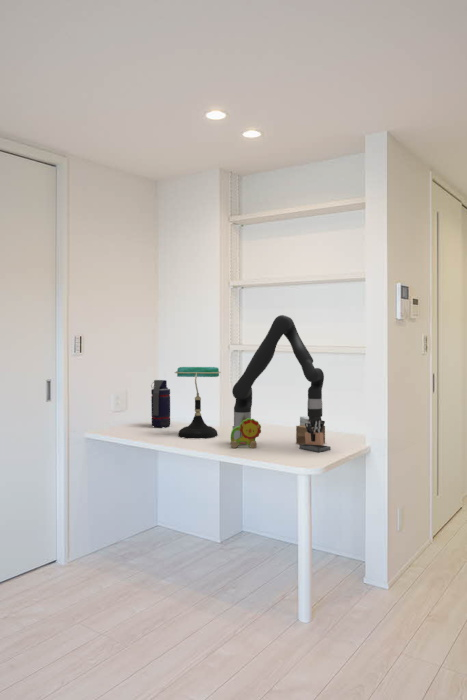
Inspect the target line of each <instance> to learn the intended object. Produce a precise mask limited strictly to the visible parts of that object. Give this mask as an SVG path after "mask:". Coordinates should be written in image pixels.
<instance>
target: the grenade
mask: <svg viewBox="0 0 467 700" xmlns="http://www.w3.org/2000/svg"><path fill="white" fill-rule="evenodd" d="M153 384H154V385H153ZM150 386H151V391H150V392H151V393H150V394H151V396H150V398H151V399H150V401H151V426H154V427H161V428H162V427H165V428H166V427H170V426H171V389H170V388H169V387H168V385H167V380H166V379H154V380H153V381H152V383H151V385H150Z"/></svg>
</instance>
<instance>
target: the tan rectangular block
mask: <svg viewBox="0 0 467 700" xmlns="http://www.w3.org/2000/svg"><path fill="white" fill-rule="evenodd" d="M305 443H306V444H309V445H324V446H325V443H324V440H323V433H318V432H315V442H313V441H311V434H310V433H308V432H306V433H305Z"/></svg>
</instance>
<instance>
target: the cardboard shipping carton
mask: <svg viewBox="0 0 467 700" xmlns="http://www.w3.org/2000/svg"><path fill="white" fill-rule="evenodd" d="M312 428H314V427H312ZM295 429H296V430H295V432H296V433H295V438H296V441H295V443H296V444H297V445H303V444H306V443H305V433H306V432H308V431H307V429H306V426H305V425H300V424H299V425H296V426H295ZM320 429H321V427H320ZM312 431H313V430H312ZM320 433H323V440H324V444H325V443H326V426H325V425H324V427H323V430H322V432H320Z"/></svg>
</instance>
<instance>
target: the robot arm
mask: <svg viewBox="0 0 467 700" xmlns="http://www.w3.org/2000/svg"><path fill="white" fill-rule="evenodd" d="M283 335H284V337H286V339H287V340H288V342H289V344H290V345H291V349H292V352H293V354H294V356H295V358H296V360H297V362H298V364H299V365H300V366H301V369H302V372H303V375H304V378H305V379H306V380H307V381H308V382H309V383H310V386H309V387H308V389H307V417H309V420H308V421H309V422H308V423H305V426H306V429H307V431H308V433H310V434H311V441H313V442H315V432H318V433H320V432H322V430H323V427H324V426H325V422H326V421H325V420H322V417H323V394H322V393H323V391H322V390H323V385H324V380H325V379H324V378H325V374H324V372H323V371H324V370H322V368H320V367H315V366H314V364H313V363H314V359H313V356H312V355H311V354H310V352H309V350H308V349H307V347H306V345H305V343H304V342H303V340H302V339H301V336H300V335H299V332H298V330H297V328H296V325H295V323H294V320H293V319H292V317H289V316H287V315H283V314H281V315H278V316H277V317H275V318H274V320H273V322H272V323H271V326H270V328H269V330H268V332H267V333H266V336H265V337H264V339H263V340H262V342H261V343H260V345H259V346H258V347H257V349H256V351H255V353H254V354H253V356H252V357H251V359H250V361H249V363H248V364H247V366H246V369H244V372H243V373H242V375H241V376H240V378H238V380H237V381H236V382H235V384H234V385H233V387H232V390H231V391H232V396H233V398H234V399H235V403H234V406H233V426H232V430H233V429H234V428H235V427H238V426H240V424H241V423H242V421H243V420H246V419H247V418H250V419H252V406H253V388H252V387H253V385H254V383H255V382H256V379H258V378H259V376H261V374H263V373H264V371H265V370H266V369H267V368H268V366H269V364H270V363H271V361H272V359H273V358H274V355H275V352H276V348H277V345H278V343H279V341H280V340H281V338H282V336H283ZM312 427H314V428H312ZM320 427H321V429H320ZM312 430H313V431H312ZM241 436H242V433H241V432H240V431H235V432H234V439H235V440H237V439H238V438H239V437H241ZM241 445H245V446H246V444H241ZM241 445H240V446H241Z"/></svg>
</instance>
